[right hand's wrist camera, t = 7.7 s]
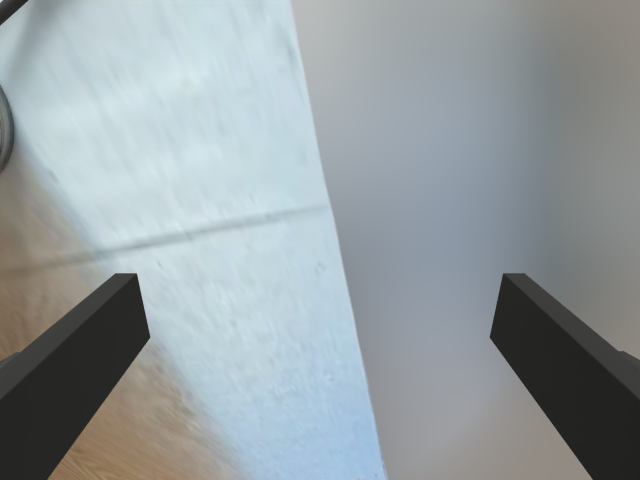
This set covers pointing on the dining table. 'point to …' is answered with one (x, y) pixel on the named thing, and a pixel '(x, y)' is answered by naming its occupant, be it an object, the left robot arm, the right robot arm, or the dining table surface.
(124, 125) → the dining table surface
